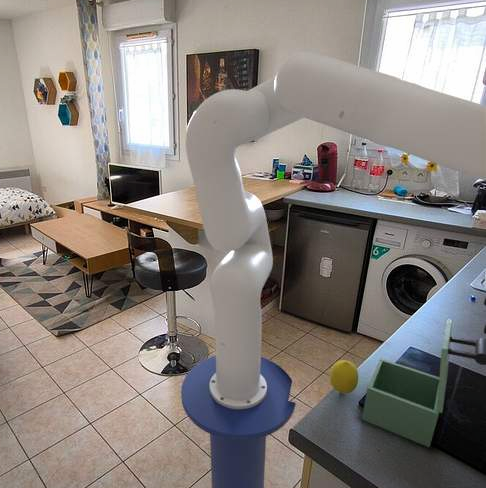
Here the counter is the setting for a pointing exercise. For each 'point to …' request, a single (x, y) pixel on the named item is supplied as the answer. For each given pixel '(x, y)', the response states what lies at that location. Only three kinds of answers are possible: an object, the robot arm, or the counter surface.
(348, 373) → the lemon
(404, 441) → the counter surface
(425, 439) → the box
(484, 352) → the lid
